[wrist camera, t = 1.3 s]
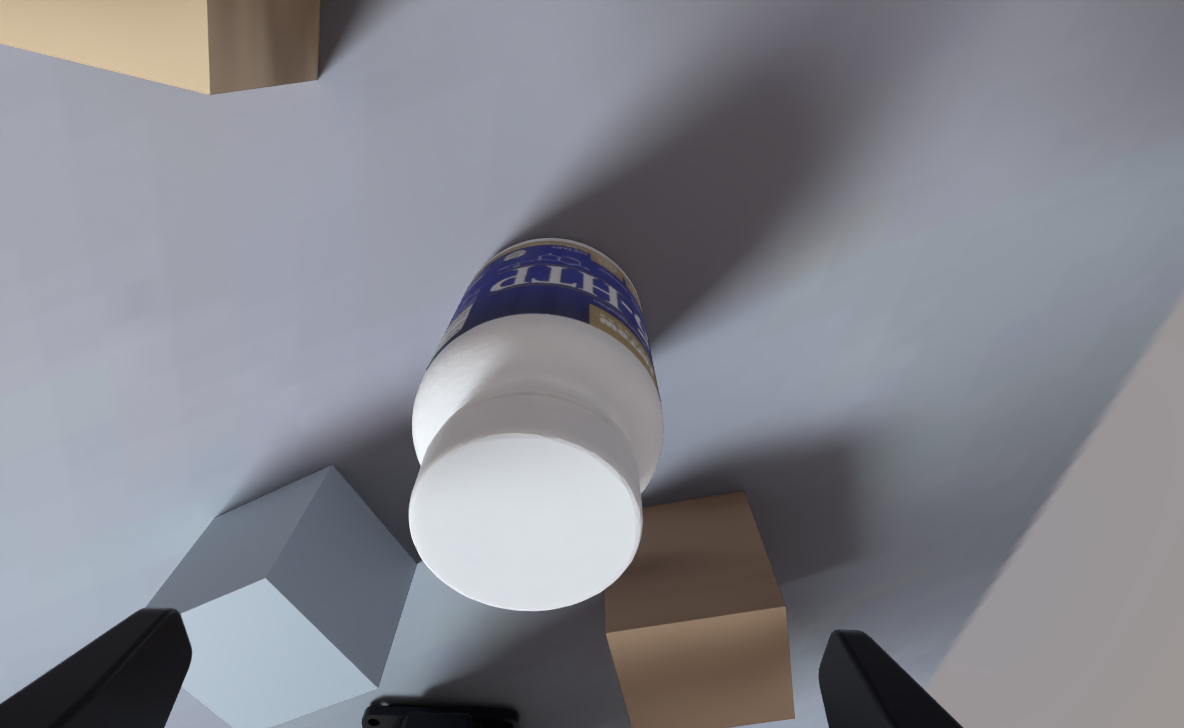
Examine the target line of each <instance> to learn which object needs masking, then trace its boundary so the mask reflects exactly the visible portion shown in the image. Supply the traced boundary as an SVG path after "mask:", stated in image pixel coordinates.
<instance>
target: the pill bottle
mask: <svg viewBox="0 0 1184 728" xmlns="http://www.w3.org/2000/svg"><path fill="white" fill-rule="evenodd" d="M412 435H413V442H414V447H415V450H416V454H417V458H418V460H419V463H420V465H421V467H420V470H419V473H418V476H417V479H416V482H415V485H414V488H413V491H412V494H411V499H410V504H409V526H410V532H411V536H412V540H413V542H414V544H415V547H416V549H417V551H418V554H419V555H420V557H421V559H422V560H423V561H424V563H425V564H426V565H427V567H428V568H429V569H430V570H431V571H432V572H433V573H434V574H435V575H436V576H437V577H438V578H439V579H440V580H442V581H443V582H444V583H445V584H447V585H448V586H450V587H451V588H453V589H454V590H456V591H457V592H459V593H460V594H462V595H464V596H466V597H469V598H471V599H474V600H476V601H479V602H481V603H484V604H487V605H490V606H494V607H499V608H504V609H510V610H518V611H543V610H552V609H557V608H561V607H566V606H570V605H573V604H576V603H579V602H582V601H584V600H586V599H588V598H591V597H592V596H594V595H596V594H599V593H600V592H602V591H603V590H604V589H606V588H607V587H608V586H610V585H611V584H612V583H613V582H615V581H616V580H617V579H618V578H619V577H620V576H621V575H622V573H623V572H624V571H625V570H626V568H627V567H628V566H629V565H630V563H631V562H632V560H633V558H634V556H635V553H636V551H637V549H638V546H639V543H640V539H641V536H642V527H643V514H642V501H641V493H642V492H643V491H644V490H645V488H646V487H647V485H648V483H649V482H650V480H651V478H652V476H653V474H654V472H655V470H656V468H657V465H658V462H659V459H660V456H661V450H662V445H663V435H664V425H663V414H662V407H661V400H660V395H659V390H658V386H657V381H656V376H655V371H654V366H653V361H652V356H651V351H650V346H649V341H648V336H647V331H646V326H645V321H644V316H643V311H642V307H641V304H640V300H639V297H638V294H637V292H636V290H635V288H634V286H633V284H632V282H631V281H630V279H629V278H628V276H627V275H626V274H625V273H624V272H623V270H622V269H621V268H620V267H619V266H618V265H617V264H616V263H615V262H613V261H612V260H611V259H610V258H608V257H607V256H606V255H604V254H603V253H601V252H599V251H598V250H596V249H594V248H592V247H590V246H588V245H586V244H583V243H580V242H577V241H573V240H568V239H561V238H540V239H533V240H528V241H525V242H521V243H518V244H516V245H513V246H511V247H509V248H507V249H505V250H503V251H501V252H500V253H498V254H497V255H495V256H494V257H493V258H491V259H490V260H489V261H488V262H487V263H486V264H485V265H484V266H483V267H482V268H481V269H480V270H479V271H478V273H477V274H476V275H475V277H474V279H473V280H472V282H471V283H470V285H469V287H468V289H467V290H466V292H465V294H464V296H463V298H462V300H461V302H460V304H459V306H458V308H457V310H456V312H455V314H454V316H453V318H452V320H451V322H450V324H449V326H448V328H447V330H446V332H445V334H444V336H443V337H442V340H441V342H440V344H439V346H438V348H437V350H436V352H435V354H434V356H433V358H432V360H431V362H430V364H429V366H428V367H427V369H426V372H425V374H424V376H423V379H422V381H421V383H420V386H419V390H418V392H417V395H416V399H415V403H414V408H413V416H412Z"/></svg>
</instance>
